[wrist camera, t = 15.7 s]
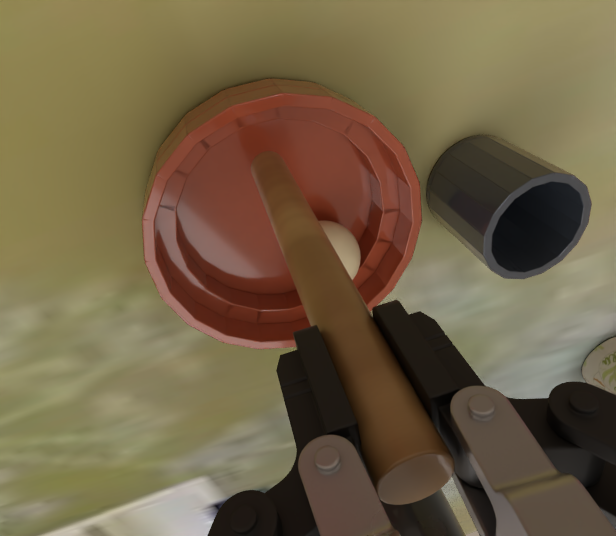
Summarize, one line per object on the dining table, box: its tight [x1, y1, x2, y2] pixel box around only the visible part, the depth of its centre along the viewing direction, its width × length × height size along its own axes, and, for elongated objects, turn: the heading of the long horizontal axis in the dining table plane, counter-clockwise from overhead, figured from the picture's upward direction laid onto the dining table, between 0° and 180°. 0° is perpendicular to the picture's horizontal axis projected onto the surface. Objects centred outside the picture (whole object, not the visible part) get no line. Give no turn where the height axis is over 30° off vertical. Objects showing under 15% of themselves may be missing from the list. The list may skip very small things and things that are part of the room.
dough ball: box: [319, 221, 361, 280], centre depth 28 cm, size 4×4×4 cm
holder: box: [427, 135, 592, 279], centre depth 29 cm, size 6×6×7 cm
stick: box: [251, 151, 455, 505], centre depth 17 cm, size 2×2×18 cm
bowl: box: [142, 78, 422, 349], centre depth 27 cm, size 15×15×4 cm
